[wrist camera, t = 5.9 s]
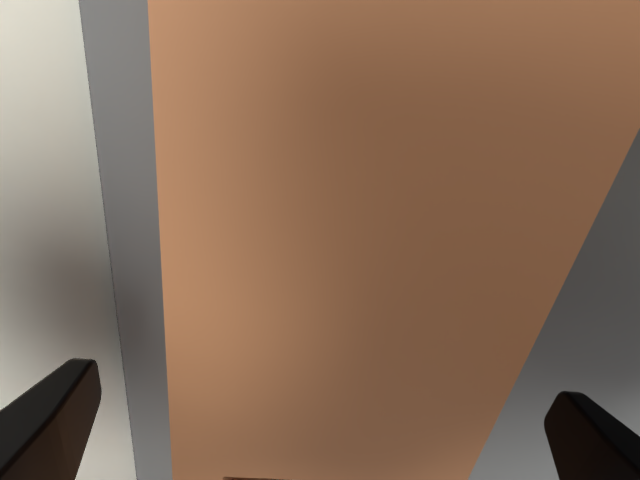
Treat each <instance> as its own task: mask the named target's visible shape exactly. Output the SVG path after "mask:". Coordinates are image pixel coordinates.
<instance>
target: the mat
mask: <svg viewBox="0 0 640 480" xmlns="http://www.w3.org/2000/svg"><path fill="white" fill-rule="evenodd" d="M79 7H80V15H81V23H82V32H83V40H84V48H85V56H86V64H87V73H88V81H89V89H90V97H91V106H92V114H93V122H94V130H95V139H96V147H97V155H98V163H99V172H100V180H101V188H102V196H103V204H104V213H105V221H106V229H107V237H108V246H109V254H110V262H111V270H112V279H113V287H114V295H115V303H116V312H117V320H118V328H119V336H120V344H121V353H122V361H123V369H124V377H125V386H126V394H127V402H128V410H129V419H130V427H131V435H132V443H133V451H134V460H135V468H136V476H137V480H173V479H172V460H171V441H170V422H169V403H168V383H167V364H166V345H165V326H164V307H163V288H162V268H161V249H160V230H159V211H158V192H157V173H156V154H155V134H154V115H153V96H152V77H151V58H150V39H149V20H148V0H79ZM561 391H573V392H581V393H583V394H585V395H586V396H588V397H589V398H590V399H592V400H593V401H594V402H596V403H597V404H598V405H600V406H601V407H602V408H603V409H605V410H606V411H607V412H609V413H610V414H611V415H613V416H614V417H615V418H616V419H618V420H619V421H620V422H622V423H623V424H624V425H626V426H627V427H628V428H629V429H631V430H632V431H633V432H635V433H636V434H637V435H639V436H640V128H639V130H638V132H637V134H636V137H635V139H634V141H633V143H632V145H631V147H630V149H629V151H628V153H627V155H626V157H625V159H624V161H623V163H622V165H621V167H620V169H619V171H618V173H617V175H616V177H615V179H614V181H613V184H612V186H611V188H610V190H609V192H608V194H607V196H606V198H605V200H604V202H603V204H602V206H601V208H600V210H599V212H598V214H597V216H596V218H595V220H594V222H593V224H592V226H591V228H590V231H589V233H588V235H587V237H586V239H585V241H584V243H583V245H582V247H581V249H580V251H579V253H578V255H577V257H576V259H575V261H574V263H573V265H572V267H571V269H570V271H569V273H568V275H567V278H566V280H565V282H564V284H563V286H562V288H561V290H560V292H559V294H558V296H557V298H556V300H555V302H554V304H553V306H552V308H551V310H550V312H549V314H548V316H547V318H546V320H545V322H544V325H543V327H542V329H541V331H540V333H539V335H538V337H537V339H536V341H535V343H534V345H533V347H532V349H531V351H530V353H529V355H528V357H527V359H526V361H525V363H524V365H523V367H522V369H521V372H520V374H519V376H518V378H517V380H516V382H515V384H514V386H513V388H512V390H511V392H510V394H509V396H508V398H507V400H506V402H505V404H504V406H503V408H502V410H501V412H500V414H499V416H498V419H497V421H496V423H495V425H494V427H493V429H492V431H491V433H490V435H489V437H488V439H487V441H486V443H485V445H484V447H483V449H482V451H481V453H480V455H479V457H478V459H477V461H476V463H475V466H474V468H473V470H472V472H471V474H470V476H469V478H468V480H559V477H558V474H557V470H556V467H555V463H554V460H553V457H552V453H551V450H550V447H549V443H548V440H547V436H546V433H545V429H544V418H545V416H546V414H547V412H548V410H549V408H550V407H551V405H552V403H553V401H554V399H555V398H556V396H557V394H558V393H560V392H561Z"/></svg>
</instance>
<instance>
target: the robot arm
mask: <svg viewBox="0 0 640 480" xmlns="http://www.w3.org/2000/svg"><path fill="white" fill-rule="evenodd" d="M100 400H101V384H100V378H99V372H98V366H97V363H96V361H95V360H92V359H79V358H73V359H70V360H68V361H67V362H65V363H64V364H63V365H61V366H60V367H59V368H57V369H56V370H55V371H53V372H52V373H51V374H49V375H48V376H46V377H45V378H44V379H42V380H41V381H40V382H38V383H37V384H36V385H34V386H33V387H32V388H30V389H29V390H28V391H26V392H25V393H23V394H22V395H21V396H19V397H18V398H17V399H15V400H14V401H13V402H11V403H10V404H9V405H7V406H6V407H5V408H3V409H2V410H0V480H75V478H76V475H77V472H78V469H79V466H80V463H81V460H82V456H83V453H84V450H85V447H86V444H87V441H88V438H89V435H90V432H91V429H92V426H93V423H94V420H95V417H96V414H97V410H98V407H99V404H100ZM544 429H545V433H546V436H547V440H548V443H549V447H550V450H551V453H552V457H553V460H554V463H555V467H556V470H557V474H558V477H559V480H640V436H639V435H637V434H636V433H635V432H633V431H632V430H631V429H629V428H628V427H627V426H626V425H624V424H623V423H622V422H620V421H619V420H618V419H616V418H615V417H614V416H613V415H611V414H610V413H609V412H607V411H606V410H605V409H603V408H602V407H601V406H600V405H598V404H597V403H596V402H594V401H593V400H592V399H590V398H589V397H588V396H586V395H585V394H583V393H581V392H573V391H561V392H560V393H558V394H557V396H556V398H555V399H554V401H553V403H552V405H551V407H550V408H549V410H548V412H547V414H546V416H545V418H544Z"/></svg>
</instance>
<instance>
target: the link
mask: <svg viewBox="0 0 640 480" xmlns="http://www.w3.org/2000/svg"><path fill="white" fill-rule="evenodd" d="M148 20H149V39H150V58H151V77H152V96H153V115H154V134H155V154H156V173H157V192H158V211H159V230H160V249H161V268H162V288H163V307H164V326H165V345H166V364H167V383H168V403H169V422H170V441H171V460H172V479H173V480H272V479H286V480H468V478H469V476H470V474H471V472H472V470H473V468H474V466H475V463H476V461H477V459H478V457H479V455H480V453H481V451H482V449H483V447H484V445H485V443H486V441H487V439H488V437H489V435H490V433H491V431H492V429H493V427H494V425H495V423H496V421H497V419H498V416H499V414H500V412H501V410H502V408H503V406H504V404H505V402H506V400H507V398H508V396H509V394H510V392H511V390H512V388H513V386H514V384H515V382H516V380H517V378H518V376H519V374H520V372H521V369H522V367H523V365H524V363H525V361H526V359H527V357H528V355H529V353H530V351H531V349H532V347H533V345H534V343H535V341H536V339H537V337H538V335H539V333H540V331H541V329H542V327H543V325H544V322H545V320H546V318H547V316H548V314H549V312H550V310H551V308H552V306H553V304H554V302H555V300H556V298H557V296H558V294H559V292H560V290H561V288H562V286H563V284H564V282H565V280H566V278H567V275H568V273H569V271H570V269H571V267H572V265H573V263H574V261H575V259H576V257H577V255H578V253H579V251H580V249H581V247H582V245H583V243H584V241H585V239H586V237H587V235H588V233H589V231H590V228H591V226H592V224H593V222H594V220H595V218H596V216H597V214H598V212H599V210H600V208H601V206H602V204H603V202H604V200H605V198H606V196H607V194H608V192H609V190H610V188H611V186H612V184H613V181H614V179H615V177H616V175H617V173H618V171H619V169H620V167H621V165H622V163H623V161H624V159H625V157H626V155H627V153H628V151H629V149H630V147H631V145H632V143H633V141H634V139H635V137H636V134H637V132H638V130H639V128H640V0H148Z"/></svg>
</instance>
